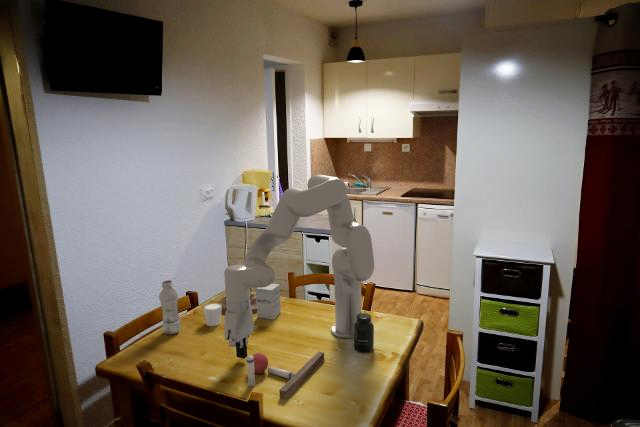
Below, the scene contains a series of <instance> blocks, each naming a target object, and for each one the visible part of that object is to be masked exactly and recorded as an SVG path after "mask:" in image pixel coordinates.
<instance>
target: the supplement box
mask: <svg viewBox="0 0 640 427" xmlns="http://www.w3.org/2000/svg"><path fill="white" fill-rule="evenodd" d="M280 288H281V287H280V284H278V283H272V284H271V285H269V286H267V287H262V288H255V294H256V299H257V313H256V315H257V316H256V317H257V318H260V319H266V320H267V319H268V320H272V321H273V320H275V319H276V318H277V317H278V316H279V315H280V314H281V289H280Z"/></svg>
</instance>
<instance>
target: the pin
mask: <svg viewBox="0 0 640 427" xmlns="http://www.w3.org/2000/svg"><path fill="white" fill-rule="evenodd" d="M267 373H269V374H271V375H275V376H279V377H282V378H284V379H288V380H290V379H291V378H292V377H293V376H294V375H295V374H296V373H295V372H293V371H289V370H285V369H281V368H279V367H275V366H271V365H269V366H268V367H267Z"/></svg>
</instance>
